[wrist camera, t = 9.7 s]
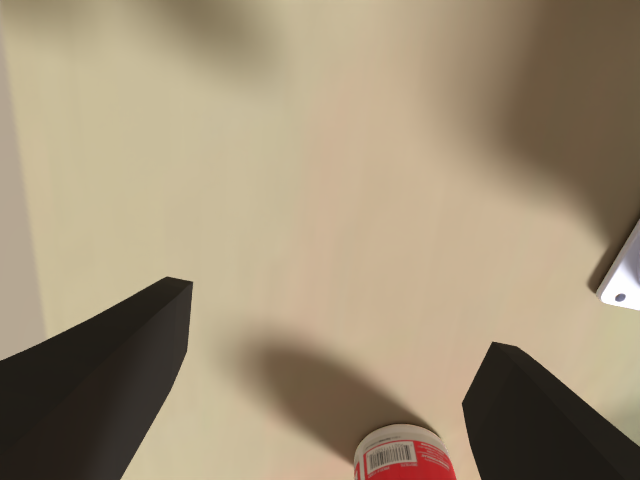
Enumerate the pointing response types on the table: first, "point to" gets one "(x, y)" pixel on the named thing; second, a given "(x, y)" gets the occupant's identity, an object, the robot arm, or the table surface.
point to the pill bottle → (402, 455)
